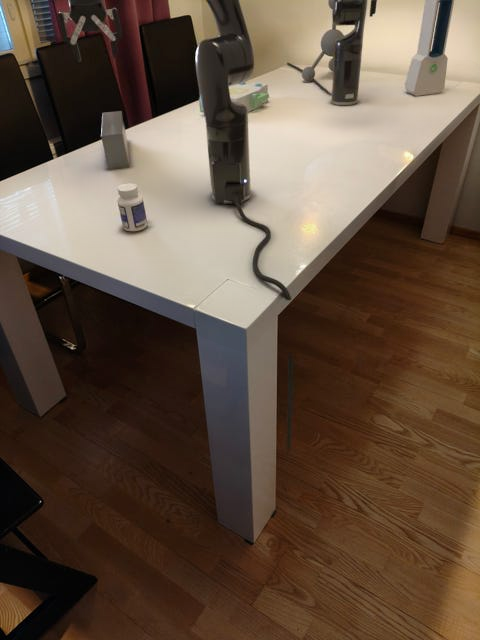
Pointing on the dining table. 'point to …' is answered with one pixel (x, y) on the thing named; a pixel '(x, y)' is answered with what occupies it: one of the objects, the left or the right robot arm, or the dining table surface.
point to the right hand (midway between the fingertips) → (355, 17)
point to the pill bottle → (131, 208)
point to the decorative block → (248, 95)
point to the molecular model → (324, 49)
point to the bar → (114, 140)
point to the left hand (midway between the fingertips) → (97, 59)
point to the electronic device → (428, 63)
